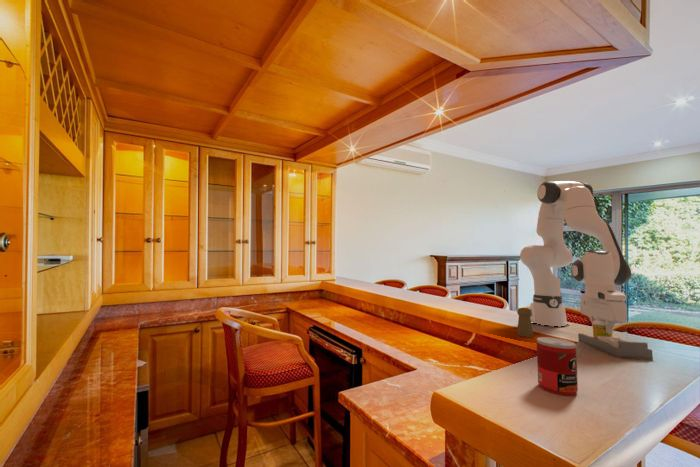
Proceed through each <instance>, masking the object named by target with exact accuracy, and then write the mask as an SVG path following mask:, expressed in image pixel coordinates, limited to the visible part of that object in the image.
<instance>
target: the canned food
mask: <svg viewBox="0 0 700 467" xmlns="http://www.w3.org/2000/svg"><path fill="white" fill-rule="evenodd" d="M577 358H578V357H577V346H576V343H575V342H572V341H570V340H568V339H563V338H559V337H558V338H557V337H548V336H545V337H544V336H540V337H537V338H536V360H537V361H536V362H537V382H538V386H539V387H540V388H541V389H542V390H544V391H547V392H549V393H552V394H555V395H560V396H566V397H569V396H571V397H572V396H575V395H577V393H578V389H579V388H578V386H579V384H578V363H577V360H578V359H577Z"/></svg>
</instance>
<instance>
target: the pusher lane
mask: <svg viewBox="0 0 700 467" xmlns="http://www.w3.org/2000/svg"><path fill="white" fill-rule="evenodd" d="M577 338H578V342H579V343H583V344H584V345H587V346H589V347H591V348H594V349H596V350H598V351H600V352H603V353H605V354H608V355H611V356H612V357H615V358H618V359H632V358H633V360H635V359H636V360H649V361H651V360H653V356H654V355H653V349H651V348H648V342H645V341H629V340H628V341H626V340H623V339H621V338H620V341H618V342H619V347H617V346H614V345H611V344H609V343H606V342H603V341H601V340H598V339H595V338H594V336H593V335H592V336H589V335H587V334H584V333H581V332H579V333H578V337H577Z"/></svg>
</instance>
